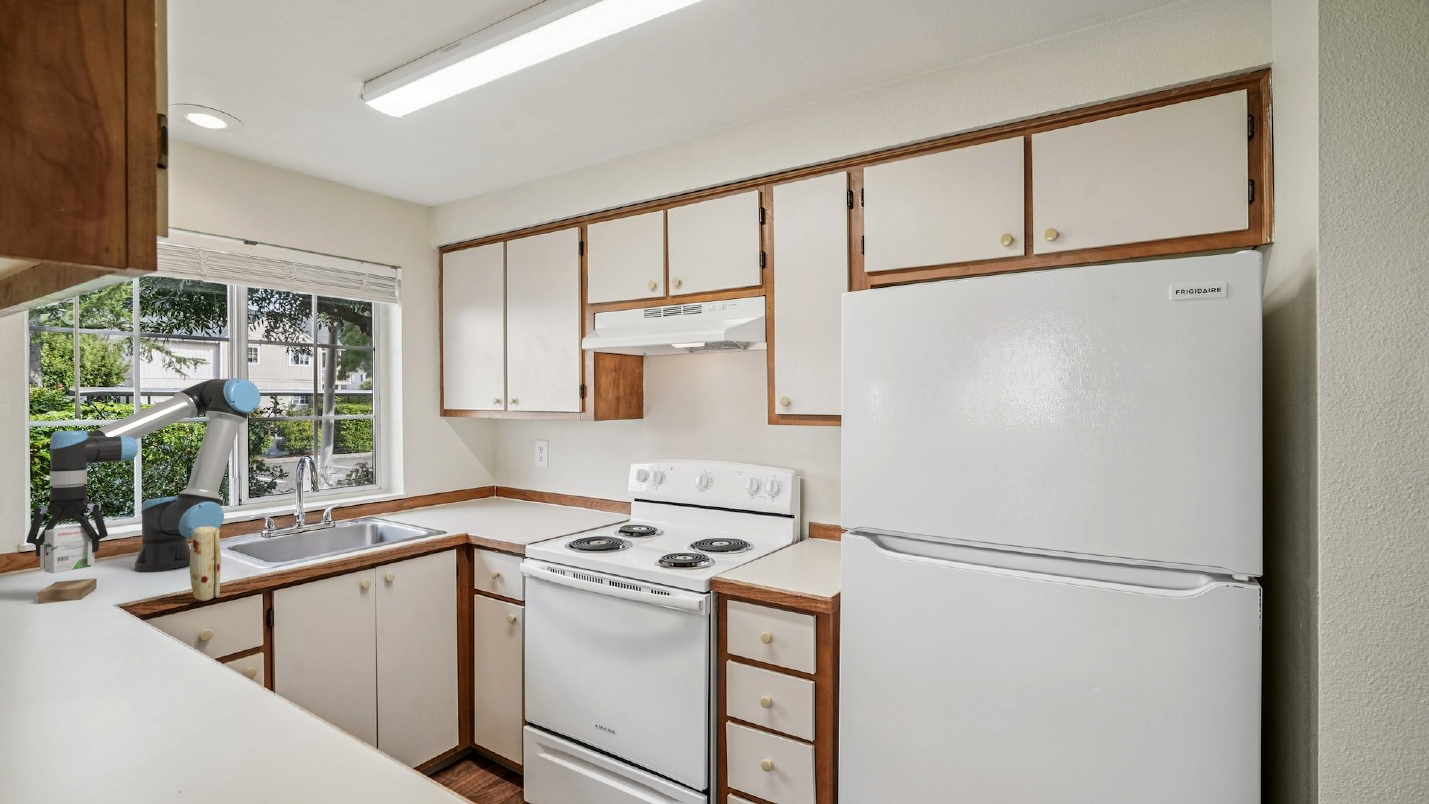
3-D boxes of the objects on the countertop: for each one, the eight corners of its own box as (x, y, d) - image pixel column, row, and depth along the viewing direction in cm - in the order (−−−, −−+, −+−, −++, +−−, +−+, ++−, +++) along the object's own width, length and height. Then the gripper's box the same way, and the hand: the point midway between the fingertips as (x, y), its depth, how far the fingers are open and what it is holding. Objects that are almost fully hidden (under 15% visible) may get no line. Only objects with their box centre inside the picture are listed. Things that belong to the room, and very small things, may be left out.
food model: (195, 596, 189) (195, 524, 189) (224, 593, 192) (224, 522, 192) (185, 605, 180) (185, 530, 180) (216, 602, 183) (216, 528, 183)
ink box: (81, 565, 195) (82, 524, 195) (91, 567, 193) (92, 525, 194) (42, 572, 187) (43, 529, 187) (53, 573, 185) (53, 530, 185)
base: (96, 589, 198) (96, 577, 198) (81, 599, 187) (81, 587, 187) (55, 593, 194) (55, 581, 194) (37, 603, 183) (37, 591, 183)
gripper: (123, 482, 199) (122, 559, 199) (21, 486, 189) (20, 567, 189) (114, 484, 192) (114, 564, 192) (9, 489, 182) (8, 573, 182)
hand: (67, 565), depth 190 cm, fingers closed on ink box, 9 cm apart
